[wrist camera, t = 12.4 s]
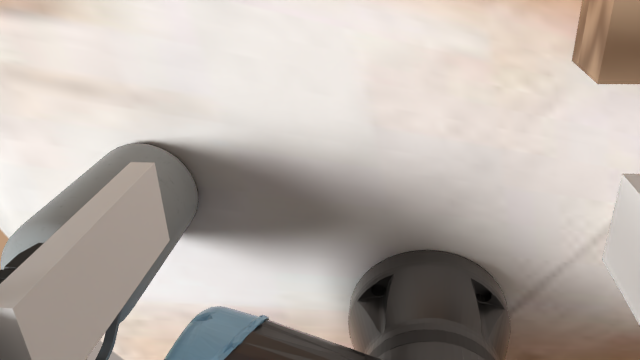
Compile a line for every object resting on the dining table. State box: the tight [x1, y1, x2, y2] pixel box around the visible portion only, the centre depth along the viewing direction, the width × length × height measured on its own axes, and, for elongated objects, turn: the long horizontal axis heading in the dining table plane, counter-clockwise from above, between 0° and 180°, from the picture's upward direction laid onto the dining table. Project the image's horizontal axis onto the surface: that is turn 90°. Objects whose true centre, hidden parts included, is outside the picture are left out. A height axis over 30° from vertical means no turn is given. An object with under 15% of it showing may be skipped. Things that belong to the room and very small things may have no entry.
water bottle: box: [1, 143, 198, 360], centre depth 38 cm, size 10×10×28 cm
